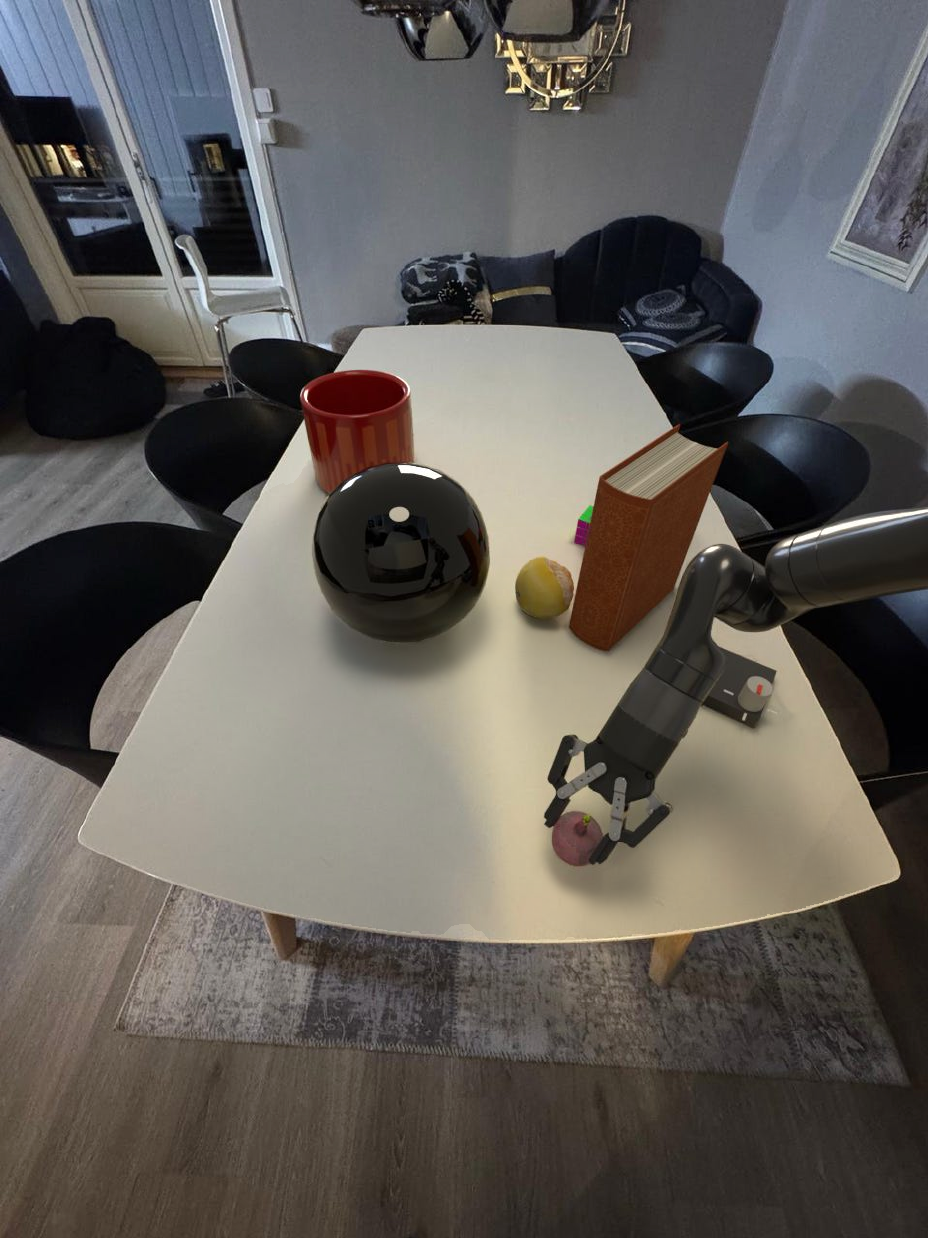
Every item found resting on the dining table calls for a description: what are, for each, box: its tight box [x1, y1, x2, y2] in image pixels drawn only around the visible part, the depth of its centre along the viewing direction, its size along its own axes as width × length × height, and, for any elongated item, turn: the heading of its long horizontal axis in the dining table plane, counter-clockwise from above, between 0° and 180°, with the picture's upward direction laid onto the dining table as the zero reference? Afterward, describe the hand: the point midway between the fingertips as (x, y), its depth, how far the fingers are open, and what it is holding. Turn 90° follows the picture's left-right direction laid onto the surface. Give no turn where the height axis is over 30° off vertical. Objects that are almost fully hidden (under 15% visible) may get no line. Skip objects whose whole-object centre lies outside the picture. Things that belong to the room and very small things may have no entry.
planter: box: [299, 369, 416, 494], centre depth 126 cm, size 23×23×20 cm
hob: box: [701, 646, 778, 729], centre depth 89 cm, size 18×13×3 cm
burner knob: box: [738, 676, 774, 712], centre depth 84 cm, size 4×4×4 cm
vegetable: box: [551, 810, 604, 868], centre depth 66 cm, size 6×6×10 cm
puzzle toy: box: [573, 504, 594, 547], centre depth 115 cm, size 6×6×6 cm
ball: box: [311, 462, 491, 644], centre depth 91 cm, size 28×28×28 cm
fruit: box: [514, 556, 575, 619], centre depth 99 cm, size 10×11×10 cm
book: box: [568, 423, 729, 653], centre depth 92 cm, size 23×8×30 cm, turn 136°
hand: (570, 843), depth 64 cm, fingers closed on vegetable, 5 cm apart
